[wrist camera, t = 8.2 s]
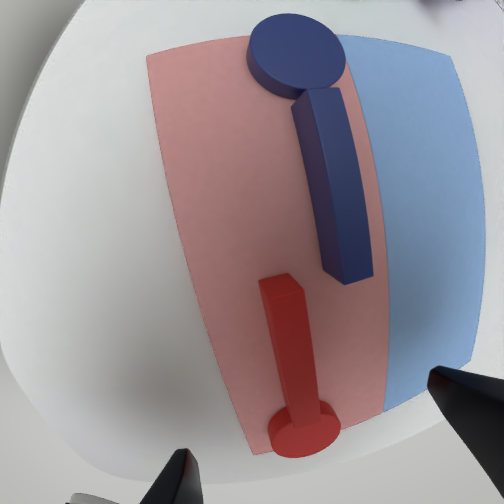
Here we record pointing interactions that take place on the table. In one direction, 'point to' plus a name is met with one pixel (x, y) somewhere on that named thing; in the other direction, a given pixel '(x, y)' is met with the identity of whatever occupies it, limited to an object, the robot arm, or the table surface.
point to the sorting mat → (304, 228)
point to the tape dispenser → (501, 3)
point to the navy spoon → (318, 134)
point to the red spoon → (295, 373)
